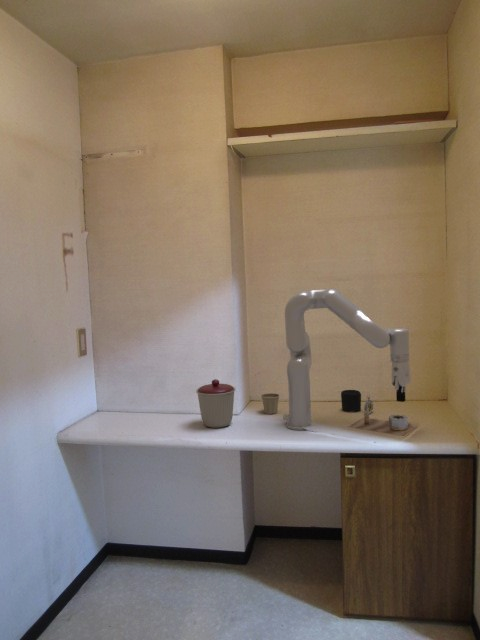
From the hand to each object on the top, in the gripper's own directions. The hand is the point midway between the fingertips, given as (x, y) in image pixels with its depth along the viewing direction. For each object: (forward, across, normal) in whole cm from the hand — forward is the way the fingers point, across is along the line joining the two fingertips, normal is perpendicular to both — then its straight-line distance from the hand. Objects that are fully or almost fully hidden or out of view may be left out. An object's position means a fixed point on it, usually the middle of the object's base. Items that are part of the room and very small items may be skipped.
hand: (401, 401), depth 205 cm
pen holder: (+12, +14, +29) cm, 35 cm away
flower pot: (+12, -5, +63) cm, 65 cm away
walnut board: (+12, -3, +7) cm, 15 cm away
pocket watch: (+12, +12, +17) cm, 25 cm away
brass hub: (+11, -3, 0) cm, 11 cm away
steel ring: (+10, -3, 0) cm, 11 cm away
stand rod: (+11, -3, +14) cm, 18 cm away
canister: (+12, -34, +73) cm, 82 cm away
